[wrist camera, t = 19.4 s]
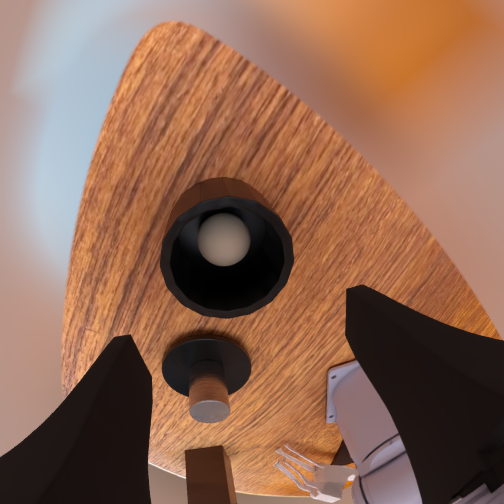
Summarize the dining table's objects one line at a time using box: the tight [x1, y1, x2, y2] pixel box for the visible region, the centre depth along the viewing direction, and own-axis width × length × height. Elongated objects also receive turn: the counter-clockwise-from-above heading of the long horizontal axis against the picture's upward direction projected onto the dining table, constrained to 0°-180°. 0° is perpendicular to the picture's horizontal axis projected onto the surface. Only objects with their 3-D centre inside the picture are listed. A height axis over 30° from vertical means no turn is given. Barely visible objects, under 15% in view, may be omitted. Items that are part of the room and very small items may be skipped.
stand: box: [185, 446, 237, 504], centre depth 26 cm, size 4×4×10 cm
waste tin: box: [160, 178, 294, 319], centre depth 17 cm, size 6×6×5 cm
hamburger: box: [331, 439, 354, 466], centre depth 33 cm, size 12×12×6 cm
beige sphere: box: [197, 213, 251, 266], centre depth 17 cm, size 3×3×3 cm
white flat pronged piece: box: [273, 443, 359, 503], centre depth 31 cm, size 2×11×18 cm
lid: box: [162, 335, 251, 423], centre depth 21 cm, size 7×7×5 cm
